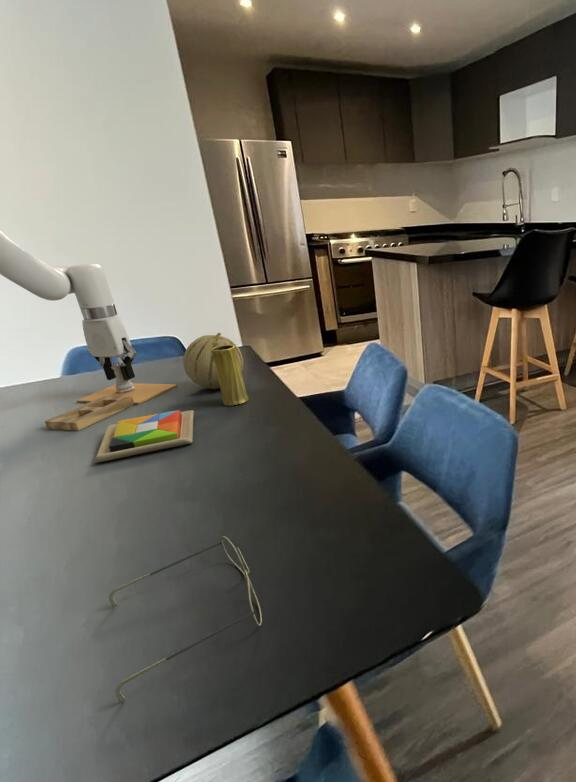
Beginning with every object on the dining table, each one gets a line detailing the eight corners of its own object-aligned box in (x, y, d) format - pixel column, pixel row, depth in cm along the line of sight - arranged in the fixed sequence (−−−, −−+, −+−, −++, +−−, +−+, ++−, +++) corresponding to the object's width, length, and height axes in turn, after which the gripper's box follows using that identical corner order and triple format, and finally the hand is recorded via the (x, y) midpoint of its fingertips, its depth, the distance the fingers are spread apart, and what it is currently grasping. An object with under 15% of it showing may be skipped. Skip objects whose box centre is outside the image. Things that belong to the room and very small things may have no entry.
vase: (218, 403, 124) (204, 349, 119) (239, 396, 129) (227, 343, 123) (232, 408, 121) (218, 352, 116) (253, 399, 126) (241, 345, 120)
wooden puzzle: (94, 467, 95) (87, 451, 94) (111, 431, 112) (106, 417, 110) (192, 446, 102) (188, 431, 100) (195, 415, 118) (191, 401, 116)
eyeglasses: (272, 628, 56) (263, 594, 54) (119, 704, 48) (102, 667, 46) (237, 556, 68) (229, 526, 66) (111, 607, 60) (98, 574, 58)
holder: (47, 429, 115) (44, 421, 114) (106, 403, 130) (103, 396, 129) (78, 430, 113) (75, 422, 112) (134, 404, 128) (132, 397, 127)
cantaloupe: (184, 388, 137) (169, 336, 132) (236, 375, 146) (224, 325, 141) (201, 401, 127) (186, 344, 121) (256, 385, 136) (245, 332, 130)
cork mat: (77, 402, 132) (76, 400, 132) (120, 384, 144) (119, 382, 144) (139, 404, 127) (138, 402, 127) (177, 386, 140) (177, 384, 140)
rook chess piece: (119, 394, 134) (109, 366, 131) (114, 391, 137) (105, 364, 134) (137, 390, 137) (128, 362, 134) (132, 386, 140) (123, 359, 137)
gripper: (60, 316, 127) (84, 382, 134) (114, 315, 123) (136, 384, 130) (86, 310, 134) (107, 373, 141) (137, 309, 130) (157, 374, 137)
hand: (121, 378), depth 135 cm, fingers open, 4 cm apart
